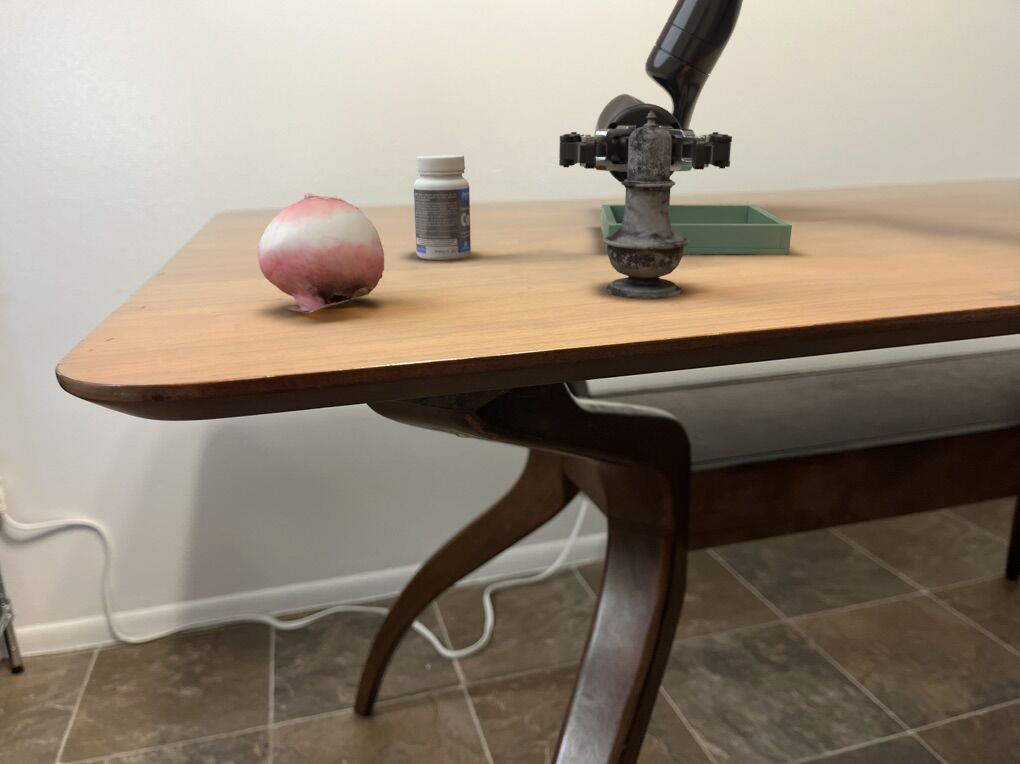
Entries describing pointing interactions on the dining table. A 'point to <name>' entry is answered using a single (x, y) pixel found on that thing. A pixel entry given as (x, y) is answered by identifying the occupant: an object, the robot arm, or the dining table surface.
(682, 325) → the dining table surface
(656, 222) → the salt shaker
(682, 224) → the tray
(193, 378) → the dining table surface
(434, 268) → the dining table surface
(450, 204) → the pill bottle
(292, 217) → the onion
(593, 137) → the robot arm
